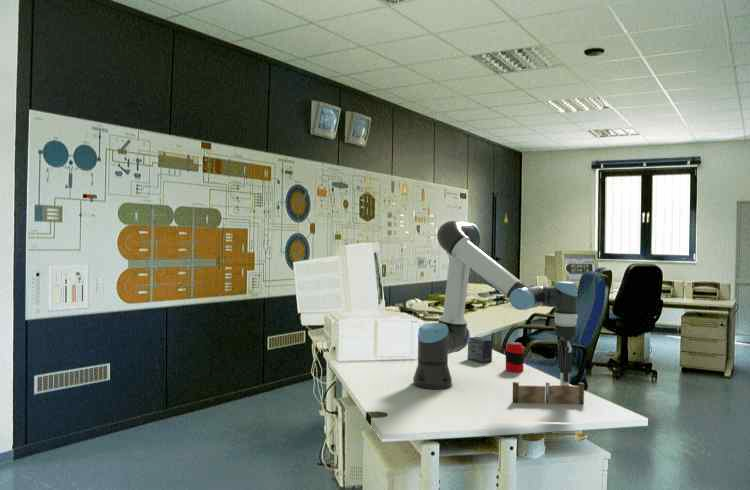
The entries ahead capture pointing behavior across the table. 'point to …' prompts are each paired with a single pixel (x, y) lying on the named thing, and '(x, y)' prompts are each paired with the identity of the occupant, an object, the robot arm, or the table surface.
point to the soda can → (514, 357)
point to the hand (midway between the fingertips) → (564, 390)
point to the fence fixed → (528, 393)
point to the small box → (480, 349)
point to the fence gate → (565, 394)
